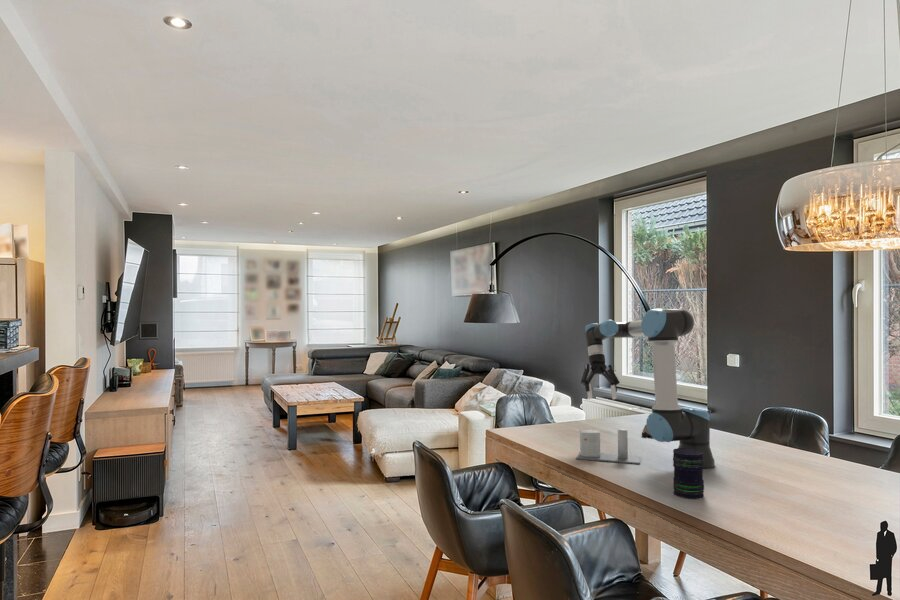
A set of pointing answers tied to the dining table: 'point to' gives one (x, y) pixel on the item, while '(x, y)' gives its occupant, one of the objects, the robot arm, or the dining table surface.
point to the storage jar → (688, 473)
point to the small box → (590, 443)
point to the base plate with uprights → (622, 452)
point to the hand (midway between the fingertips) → (602, 398)
